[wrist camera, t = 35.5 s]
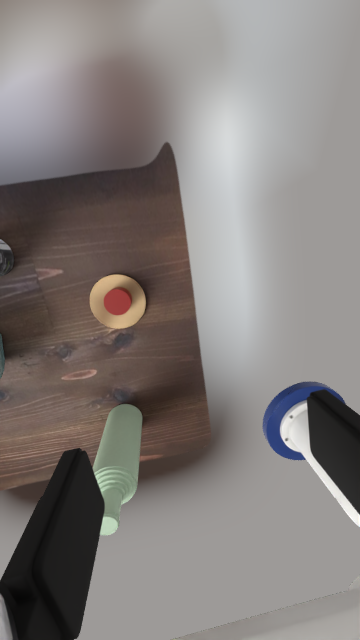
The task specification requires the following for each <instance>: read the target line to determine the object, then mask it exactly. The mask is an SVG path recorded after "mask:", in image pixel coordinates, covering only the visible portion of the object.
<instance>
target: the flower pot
mask: <svg viewBox="0 0 360 640" xmlns="http://www.w3.org/2000/svg"><path fill="white" fill-rule="evenodd" d="M4 365H5V358H4V351H3V343H2V336H1V334H0V378H1V376H2V374H3V371H4Z"/></svg>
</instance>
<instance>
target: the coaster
mask: <svg viewBox="0 0 360 640" xmlns="http://www.w3.org/2000/svg"><path fill="white" fill-rule="evenodd" d="M116 287H122V288H125V289H127V290H128V291H129V292H130V294H131V296H132V304H131V306H130V308H129V310H128V311H127V312H126V313H125V314H123V315H113V314H111V313H109V312H108V311H107V310H106V309H105V307H104V297H105V295H106V294H107V293H108V292H109V291H110V290H112V289H113V288H116ZM90 306H91V310H92V312H93V314H94V316H95V317H96V318H97V319H98V320H99V321H100V322H101V323H102V324H104V325H106V326H108V327H111V328H117V329H122V328H127V327H130V326H132V325H134V324H135V323H136V322H138V321H139V320H140V318H141V317H142V315H143V313H144V311H145V307H146V298H145V294H144V291H143V289H142V288H141V286H140V285H139V284H138V283H137V282H136V281H135V280H134V279H132V278H130V277H128V276H125V275H120V274H113V275H109V276H106V277H104V278H102V279H100V280H99V281H98V282H97V283H96V284H95V285H94V287H93V289H92V291H91V294H90Z"/></svg>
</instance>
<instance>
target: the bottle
mask: <svg viewBox="0 0 360 640" xmlns="http://www.w3.org/2000/svg"><path fill="white" fill-rule="evenodd" d="M142 419H143V418H142V414H141V412H140V410H139V409H138V408H137V407H135V406H133V405H130V404H121V405H118V406H116V407H114V408H113V409H112V410H111V411H110V413H109V416H108V419H107V422H106V426H105V429H104V432H103V436H102V439H101V442H100V446H99V449H98V453H97V456H96V459H95V463H94V466H93V471H94V474H95V477H96V480H97V482H98V485H99V488H100V490H101V493H102V496H103V498H104V502H105V511H104V516H103V521H102V526H101V531H100V535H110V534H112V533H114V532H115V531H116V529H117V528H118V526H119V516H120V509H121V504H124V503H126V502H127V501H128V500H130V499H131V497H132V496H133V495H134V493H135V491H136V489H137V482H138V469H139V457H140V444H141V431H142Z"/></svg>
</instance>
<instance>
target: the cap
mask: <svg viewBox="0 0 360 640" xmlns="http://www.w3.org/2000/svg"><path fill="white" fill-rule="evenodd" d="M131 304H132V296H131V294H130V292H129V291H128V290H127V289H125V288H122V287H116V288H113V289H112V290H110V291H109V292H108V293H107V294H106V295H105V297H104V307H105V309H106V310H107V311H108V312H109V313H111V314H113V315H123V314H125V313H126V312H127V311H128V310H129V308H130V306H131Z"/></svg>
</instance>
